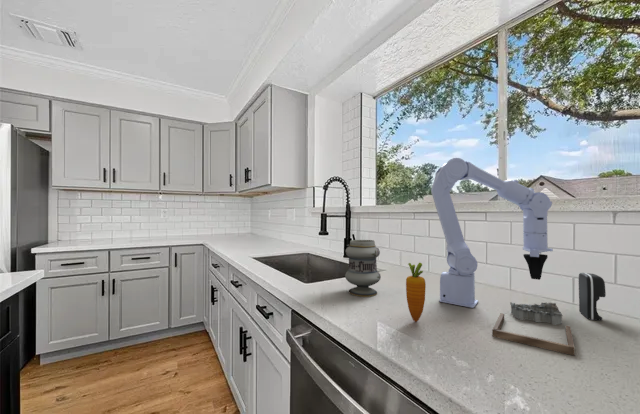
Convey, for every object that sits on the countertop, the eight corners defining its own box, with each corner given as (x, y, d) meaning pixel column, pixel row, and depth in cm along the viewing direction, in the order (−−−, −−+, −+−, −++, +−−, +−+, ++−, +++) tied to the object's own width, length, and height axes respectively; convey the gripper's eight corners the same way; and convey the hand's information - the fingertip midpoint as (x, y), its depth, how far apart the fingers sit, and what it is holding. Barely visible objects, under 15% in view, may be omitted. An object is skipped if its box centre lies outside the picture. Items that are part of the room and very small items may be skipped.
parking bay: (492, 336, 63) (492, 329, 63) (500, 318, 74) (500, 313, 74) (574, 355, 55) (574, 347, 55) (570, 332, 65) (570, 326, 65)
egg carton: (558, 318, 75) (558, 303, 75) (564, 328, 69) (564, 311, 69) (510, 311, 81) (510, 296, 81) (511, 319, 75) (511, 303, 75)
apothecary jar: (340, 289, 102) (340, 239, 103) (371, 287, 105) (371, 238, 106) (352, 298, 91) (352, 242, 91) (386, 296, 93) (386, 241, 94)
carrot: (402, 318, 73) (402, 260, 74) (420, 318, 74) (420, 260, 74) (410, 326, 68) (409, 263, 69) (429, 325, 69) (429, 263, 69)
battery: (608, 323, 72) (607, 277, 72) (588, 320, 73) (587, 275, 74) (596, 314, 78) (595, 272, 78) (578, 312, 80) (577, 271, 80)
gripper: (552, 234, 76) (553, 285, 76) (552, 232, 88) (553, 276, 87) (520, 233, 81) (521, 281, 80) (524, 231, 92) (524, 273, 92)
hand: (535, 278), depth 84 cm, fingers closed
